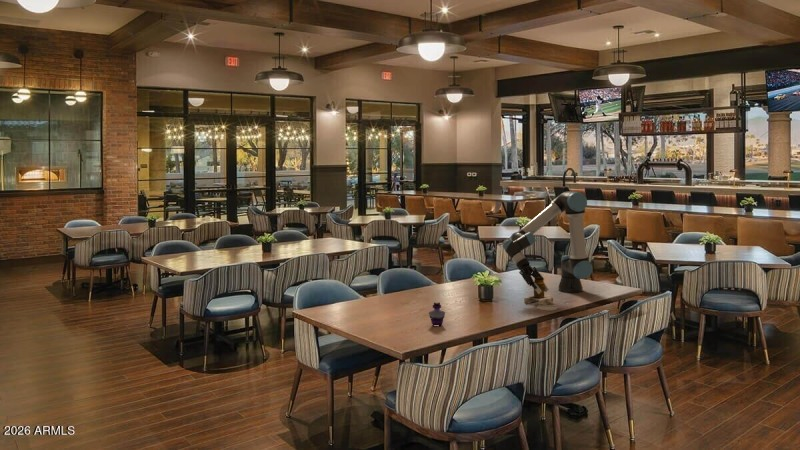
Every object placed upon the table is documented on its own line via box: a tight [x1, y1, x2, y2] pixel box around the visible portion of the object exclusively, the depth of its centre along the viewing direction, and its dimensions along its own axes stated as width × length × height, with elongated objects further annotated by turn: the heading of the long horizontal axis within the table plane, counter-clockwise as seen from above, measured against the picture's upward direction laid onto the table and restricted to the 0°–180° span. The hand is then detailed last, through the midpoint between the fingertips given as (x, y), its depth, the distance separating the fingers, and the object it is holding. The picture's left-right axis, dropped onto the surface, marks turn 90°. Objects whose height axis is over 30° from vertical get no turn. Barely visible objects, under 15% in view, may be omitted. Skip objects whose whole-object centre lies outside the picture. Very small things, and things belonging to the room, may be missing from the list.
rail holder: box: [523, 296, 554, 306], centre depth 376 cm, size 12×12×3 cm
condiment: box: [528, 276, 548, 300], centre depth 375 cm, size 7×8×12 cm
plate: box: [537, 304, 558, 311], centre depth 363 cm, size 11×11×1 cm
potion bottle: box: [428, 301, 446, 326], centre depth 330 cm, size 9×9×12 cm
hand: (543, 291), depth 373 cm, fingers closed on condiment, 6 cm apart
